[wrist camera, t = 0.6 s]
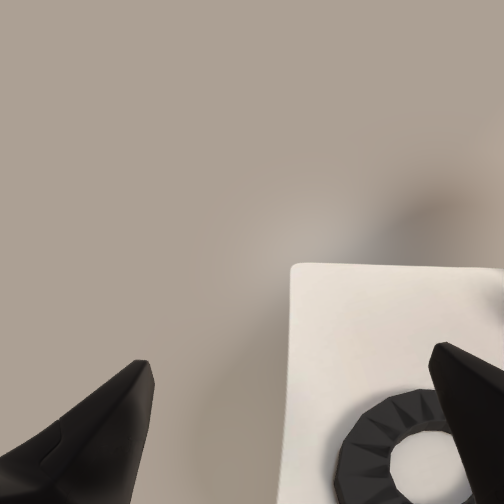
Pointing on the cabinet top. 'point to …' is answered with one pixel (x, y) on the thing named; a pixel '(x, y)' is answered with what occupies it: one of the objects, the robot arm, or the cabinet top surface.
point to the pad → (384, 447)
